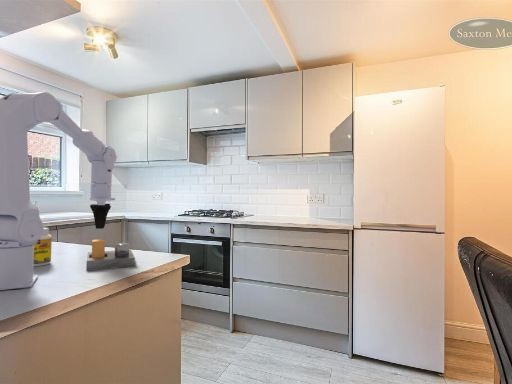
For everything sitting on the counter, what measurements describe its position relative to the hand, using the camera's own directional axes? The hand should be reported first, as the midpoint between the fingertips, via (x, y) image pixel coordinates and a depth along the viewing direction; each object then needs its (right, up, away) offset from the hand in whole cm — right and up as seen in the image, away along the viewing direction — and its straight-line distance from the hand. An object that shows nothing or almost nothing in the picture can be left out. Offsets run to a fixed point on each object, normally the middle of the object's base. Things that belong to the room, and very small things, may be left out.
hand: (99, 226), depth 91 cm
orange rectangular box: (+3, -10, -7) cm, 13 cm away
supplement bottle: (-13, -10, -9) cm, 18 cm away
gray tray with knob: (+6, -10, -6) cm, 13 cm away
